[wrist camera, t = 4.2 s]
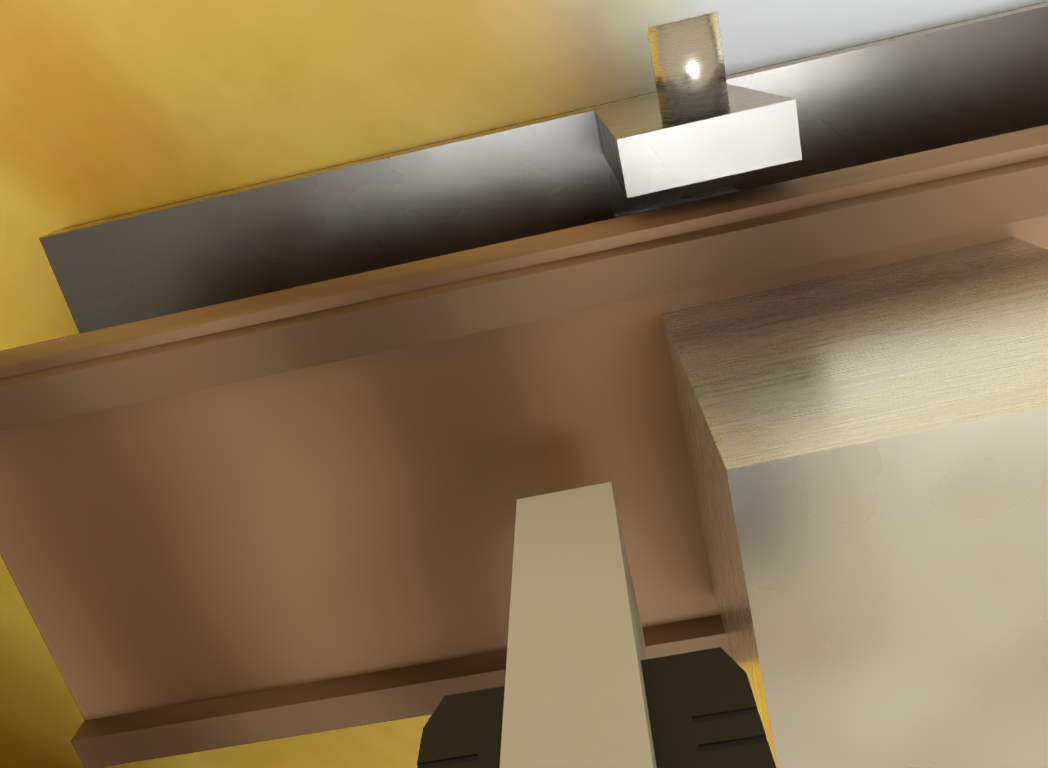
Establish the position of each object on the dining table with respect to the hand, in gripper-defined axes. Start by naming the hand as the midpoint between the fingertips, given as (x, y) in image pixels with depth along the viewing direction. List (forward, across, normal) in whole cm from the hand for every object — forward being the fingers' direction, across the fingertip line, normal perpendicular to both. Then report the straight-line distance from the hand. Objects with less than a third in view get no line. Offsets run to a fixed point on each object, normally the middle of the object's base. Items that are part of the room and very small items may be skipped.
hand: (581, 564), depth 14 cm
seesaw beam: (+4, -3, 0) cm, 5 cm away
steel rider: (+3, -5, 0) cm, 6 cm away
